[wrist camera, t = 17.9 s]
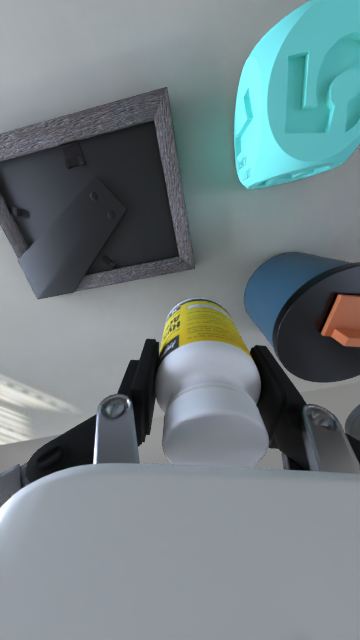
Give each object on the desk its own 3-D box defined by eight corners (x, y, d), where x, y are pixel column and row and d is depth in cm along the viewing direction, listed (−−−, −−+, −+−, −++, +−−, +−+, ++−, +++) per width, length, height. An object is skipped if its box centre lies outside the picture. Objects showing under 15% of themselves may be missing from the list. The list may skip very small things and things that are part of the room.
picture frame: (47, 294, 27) (194, 266, 25) (37, 299, 25) (195, 269, 23) (-27, 151, 20) (168, 97, 18) (-47, 144, 18) (166, 83, 16)
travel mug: (309, 332, 29) (376, 386, 19) (234, 327, 29) (262, 380, 19) (342, 252, 24) (456, 269, 14) (252, 246, 24) (303, 259, 14)
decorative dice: (231, 95, 18) (264, 6, 11) (319, 73, 17) (416, -37, 10) (235, 193, 21) (262, 176, 14) (309, 178, 21) (377, 151, 14)
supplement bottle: (170, 289, 14) (153, 384, 6) (238, 302, 15) (322, 409, 6) (160, 347, 17) (137, 480, 8) (219, 357, 17) (260, 493, 8)
